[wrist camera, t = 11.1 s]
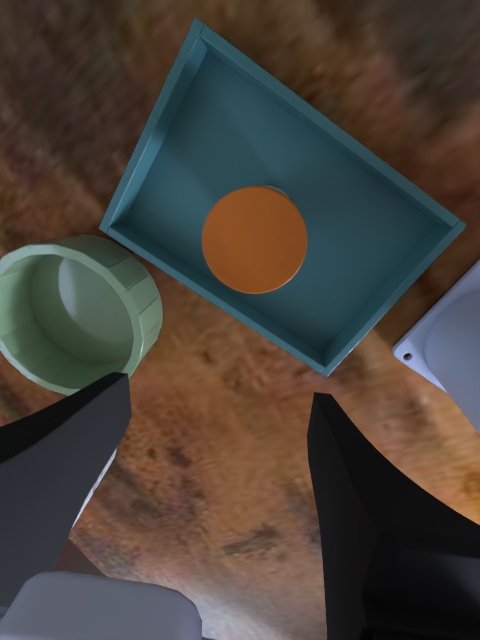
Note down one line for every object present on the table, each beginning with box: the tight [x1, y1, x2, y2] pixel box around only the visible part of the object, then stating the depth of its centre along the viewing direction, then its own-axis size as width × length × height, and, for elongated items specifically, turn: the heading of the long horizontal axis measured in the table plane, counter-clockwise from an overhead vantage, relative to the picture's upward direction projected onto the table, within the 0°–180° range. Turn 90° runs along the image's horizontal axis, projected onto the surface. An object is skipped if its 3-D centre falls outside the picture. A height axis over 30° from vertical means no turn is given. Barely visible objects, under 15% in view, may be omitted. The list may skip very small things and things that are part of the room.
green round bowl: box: [0, 234, 163, 396], centre depth 22 cm, size 10×10×4 cm
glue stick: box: [202, 185, 307, 294], centre depth 16 cm, size 4×4×9 cm
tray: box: [98, 17, 467, 377], centre depth 19 cm, size 16×11×2 cm
